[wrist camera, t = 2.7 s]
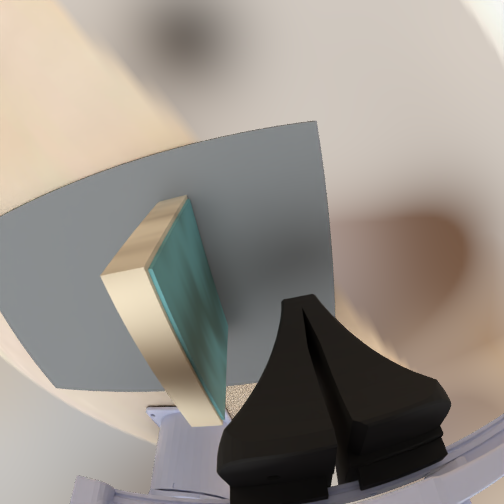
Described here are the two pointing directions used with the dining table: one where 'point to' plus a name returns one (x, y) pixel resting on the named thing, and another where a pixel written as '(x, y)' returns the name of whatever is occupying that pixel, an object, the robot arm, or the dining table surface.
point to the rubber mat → (213, 239)
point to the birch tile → (174, 309)
